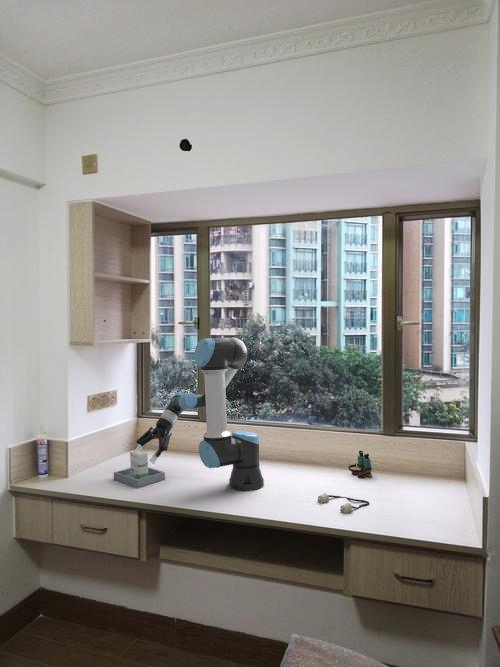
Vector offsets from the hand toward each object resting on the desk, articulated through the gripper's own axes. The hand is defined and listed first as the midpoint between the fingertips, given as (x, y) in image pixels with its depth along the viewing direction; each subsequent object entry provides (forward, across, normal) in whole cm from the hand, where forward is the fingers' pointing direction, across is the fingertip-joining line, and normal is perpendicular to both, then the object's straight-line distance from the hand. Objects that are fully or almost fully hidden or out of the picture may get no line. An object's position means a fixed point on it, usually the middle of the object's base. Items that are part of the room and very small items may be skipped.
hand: (142, 459), depth 239 cm
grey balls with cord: (-14, -87, -28) cm, 93 cm away
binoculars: (-38, -76, -52) cm, 100 cm away
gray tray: (+8, 0, -5) cm, 9 cm away
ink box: (+7, 0, -4) cm, 8 cm away
